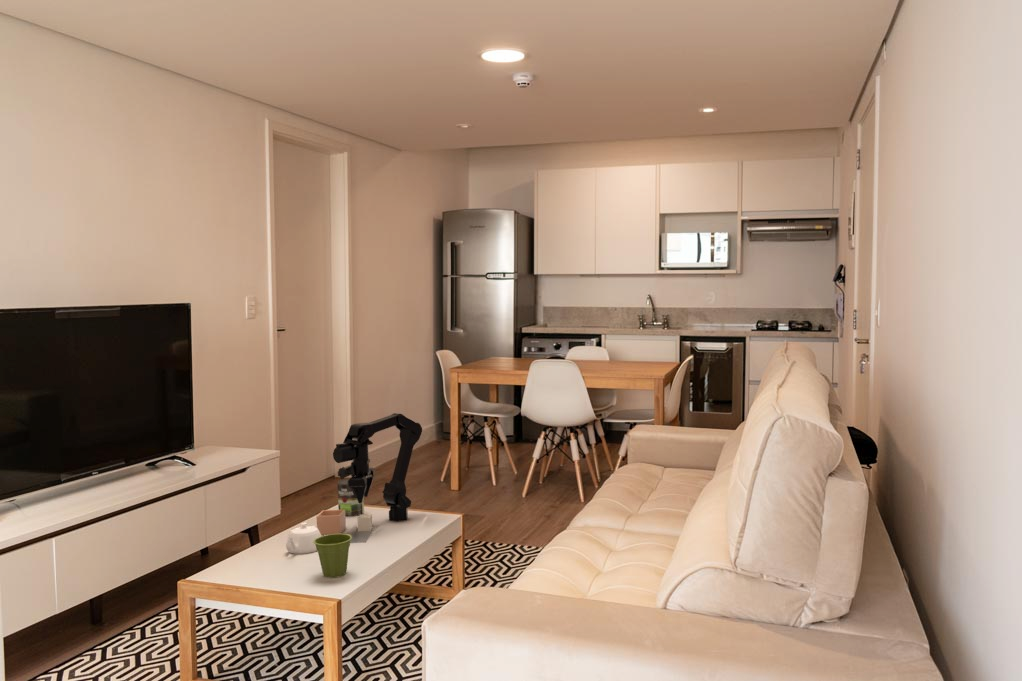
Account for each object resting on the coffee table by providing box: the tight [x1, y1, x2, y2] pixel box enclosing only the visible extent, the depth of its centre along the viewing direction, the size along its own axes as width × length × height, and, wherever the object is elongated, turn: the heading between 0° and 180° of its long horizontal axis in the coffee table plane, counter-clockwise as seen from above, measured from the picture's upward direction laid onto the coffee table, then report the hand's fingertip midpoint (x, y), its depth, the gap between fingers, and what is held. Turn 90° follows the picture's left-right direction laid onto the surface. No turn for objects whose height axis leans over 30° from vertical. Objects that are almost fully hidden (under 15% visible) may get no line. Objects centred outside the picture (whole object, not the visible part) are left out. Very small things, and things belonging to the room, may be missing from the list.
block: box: [356, 513, 374, 531], centre depth 296 cm, size 4×4×5 cm
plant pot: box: [313, 533, 352, 578], centre depth 251 cm, size 12×12×11 cm
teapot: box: [285, 522, 322, 555], centre depth 274 cm, size 20×12×10 cm, turn 168°
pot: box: [316, 509, 347, 536], centre depth 295 cm, size 8×8×8 cm
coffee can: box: [336, 478, 365, 518], centre depth 320 cm, size 10×10×14 cm
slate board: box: [350, 526, 377, 544], centre depth 290 cm, size 7×20×1 cm, turn 179°
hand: (363, 499), depth 296 cm, fingers open, 9 cm apart
